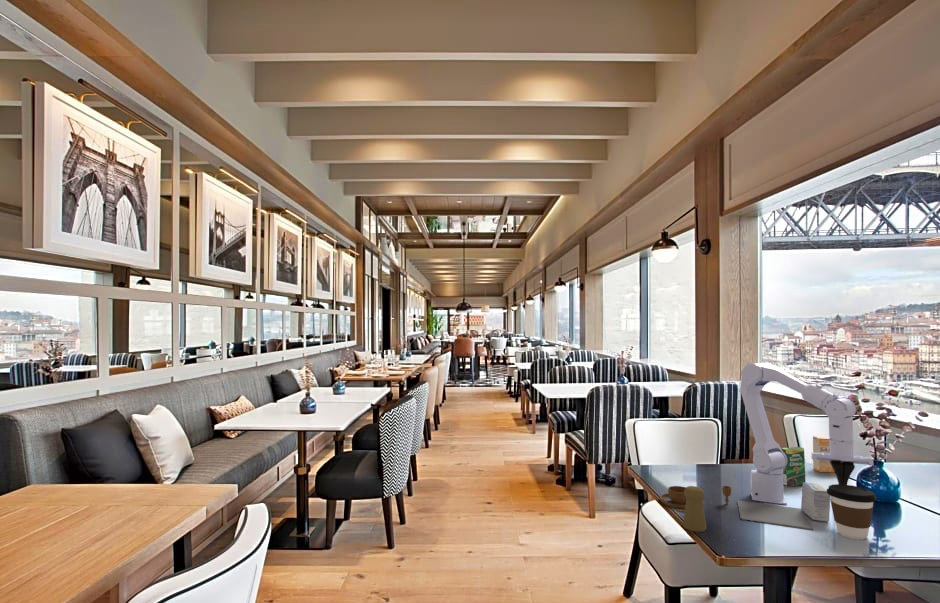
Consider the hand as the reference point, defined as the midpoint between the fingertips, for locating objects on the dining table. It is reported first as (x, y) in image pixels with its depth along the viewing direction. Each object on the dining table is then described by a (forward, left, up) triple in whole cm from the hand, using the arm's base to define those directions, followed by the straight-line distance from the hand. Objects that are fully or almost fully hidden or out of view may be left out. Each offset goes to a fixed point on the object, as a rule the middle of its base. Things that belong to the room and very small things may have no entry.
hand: (842, 487), depth 149 cm
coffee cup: (0, -11, -10) cm, 15 cm away
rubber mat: (-18, -4, -9) cm, 21 cm away
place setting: (-40, -5, -10) cm, 41 cm away
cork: (-39, -24, -10) cm, 47 cm away
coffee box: (-8, +33, -10) cm, 35 cm away
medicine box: (-7, 0, -9) cm, 12 cm away
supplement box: (+7, +60, -10) cm, 61 cm away
